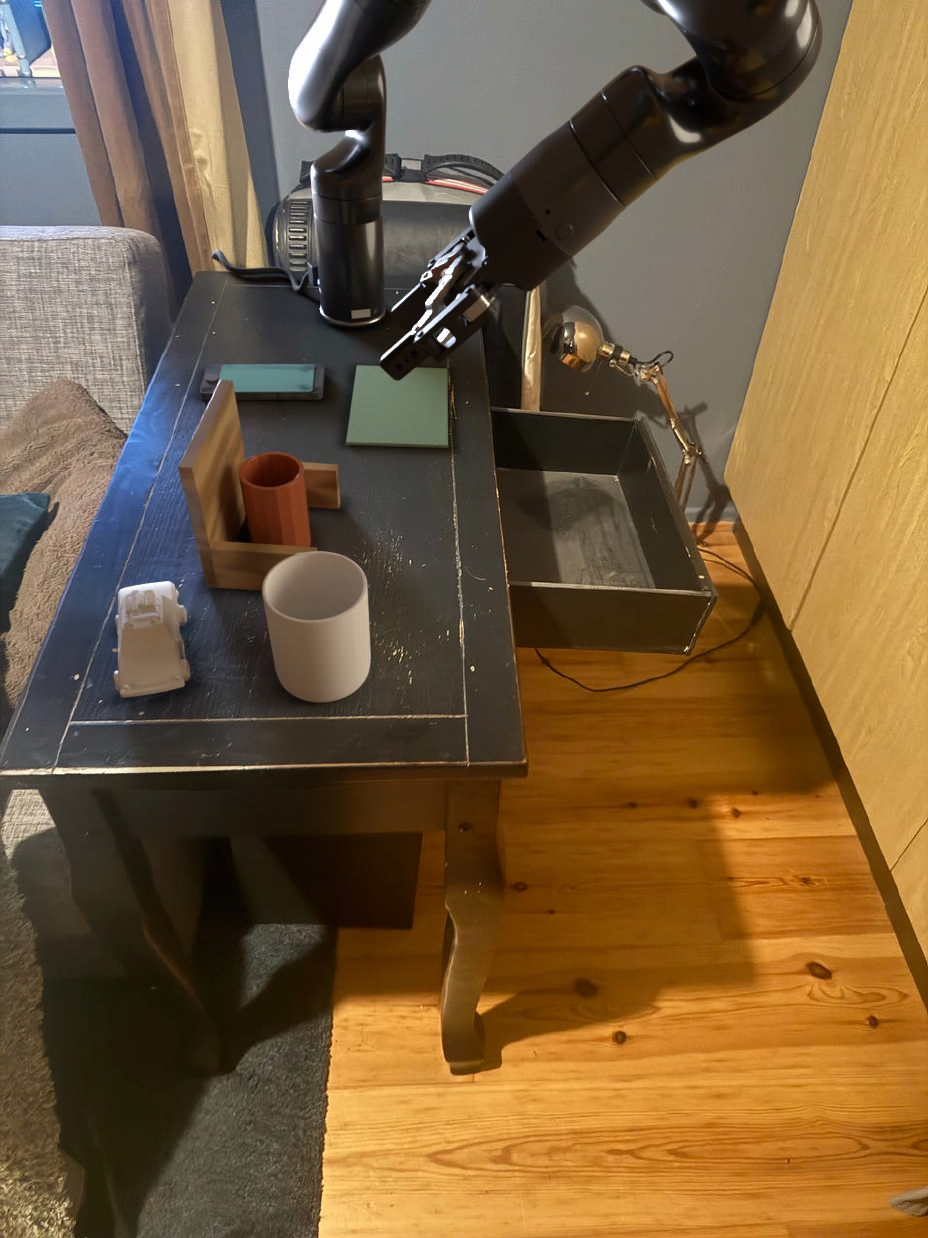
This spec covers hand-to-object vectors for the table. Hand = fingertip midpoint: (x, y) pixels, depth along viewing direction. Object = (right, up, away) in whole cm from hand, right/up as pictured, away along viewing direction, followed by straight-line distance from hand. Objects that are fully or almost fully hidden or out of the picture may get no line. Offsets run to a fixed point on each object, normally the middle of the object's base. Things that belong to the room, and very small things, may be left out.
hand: (393, 345), depth 68 cm
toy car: (-21, -26, +5) cm, 34 cm away
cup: (-13, -15, +16) cm, 25 cm away
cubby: (-13, -15, +16) cm, 25 cm away
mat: (-2, +4, +35) cm, 36 cm away
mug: (-7, -26, +6) cm, 28 cm away
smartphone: (-20, +7, +37) cm, 42 cm away
